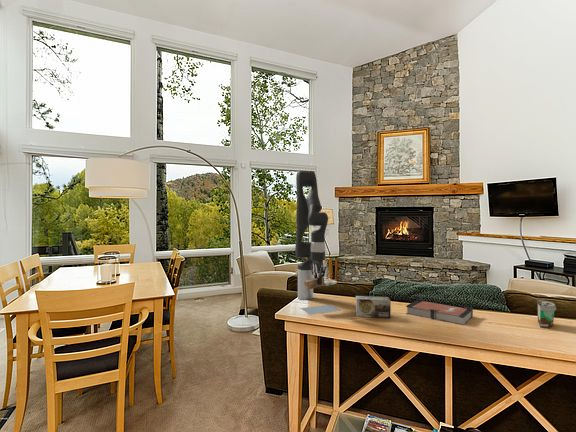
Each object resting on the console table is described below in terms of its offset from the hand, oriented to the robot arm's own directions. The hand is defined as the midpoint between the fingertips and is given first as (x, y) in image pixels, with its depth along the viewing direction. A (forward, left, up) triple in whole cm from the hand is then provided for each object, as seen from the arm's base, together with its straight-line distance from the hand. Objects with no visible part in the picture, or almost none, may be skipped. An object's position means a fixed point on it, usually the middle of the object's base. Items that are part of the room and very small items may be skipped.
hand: (318, 284), depth 171 cm
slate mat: (0, +2, -14) cm, 14 cm away
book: (+29, +52, -15) cm, 61 cm away
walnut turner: (0, +1, -1) cm, 2 cm away
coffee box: (+14, +14, -9) cm, 22 cm away
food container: (+59, +85, -14) cm, 104 cm away
